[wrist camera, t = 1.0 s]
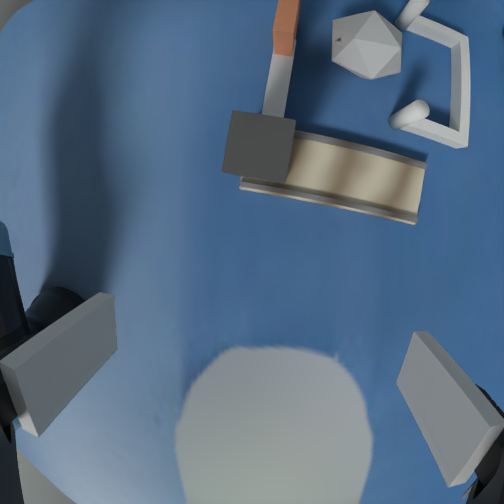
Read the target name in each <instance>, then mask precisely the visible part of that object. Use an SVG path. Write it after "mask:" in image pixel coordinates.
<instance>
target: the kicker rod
mask: <svg viewBox="0 0 504 504" xmlns="http://www.w3.org/2000/svg"><path fill="white" fill-rule="evenodd" d="M299 9H300V0H279V1H278V6H277V11H276V16H275V21H274V26H273V42H274V49H273V55H272V60H271V65H270V71H269V76H268V82H267V87H266V93H265V98H264V104H263V110H262V114H257V113H249V112H242V111H233V110H232V116H231V121H230V126H229V132H228V138H227V143H226V149H225V155H224V160H223V166H222V172H225V173H230V174H234V175H238V176H243V177H249V178H255V179H261V180H267V181H272V182H278V183H285V182H286V177H287V172H288V166H289V160H290V154H291V148H292V142H293V136H294V130H295V124H296V120H294V119H288V118H284V113H285V107H286V101H287V95H288V89H289V83H290V77H291V71H292V65H293V59H294V53H295V47H296V33H297V27H298V21H299Z"/></svg>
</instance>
